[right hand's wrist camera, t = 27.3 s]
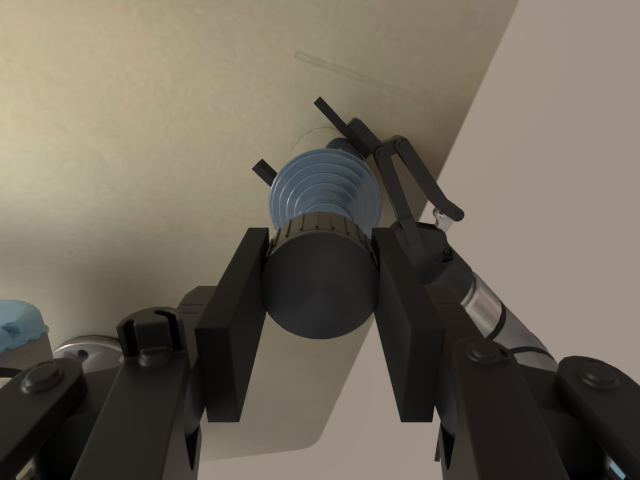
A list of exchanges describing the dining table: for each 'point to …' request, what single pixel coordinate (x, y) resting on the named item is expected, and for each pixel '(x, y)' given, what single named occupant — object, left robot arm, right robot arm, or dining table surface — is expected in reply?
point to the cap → (320, 276)
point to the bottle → (326, 182)
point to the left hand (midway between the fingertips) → (286, 133)
